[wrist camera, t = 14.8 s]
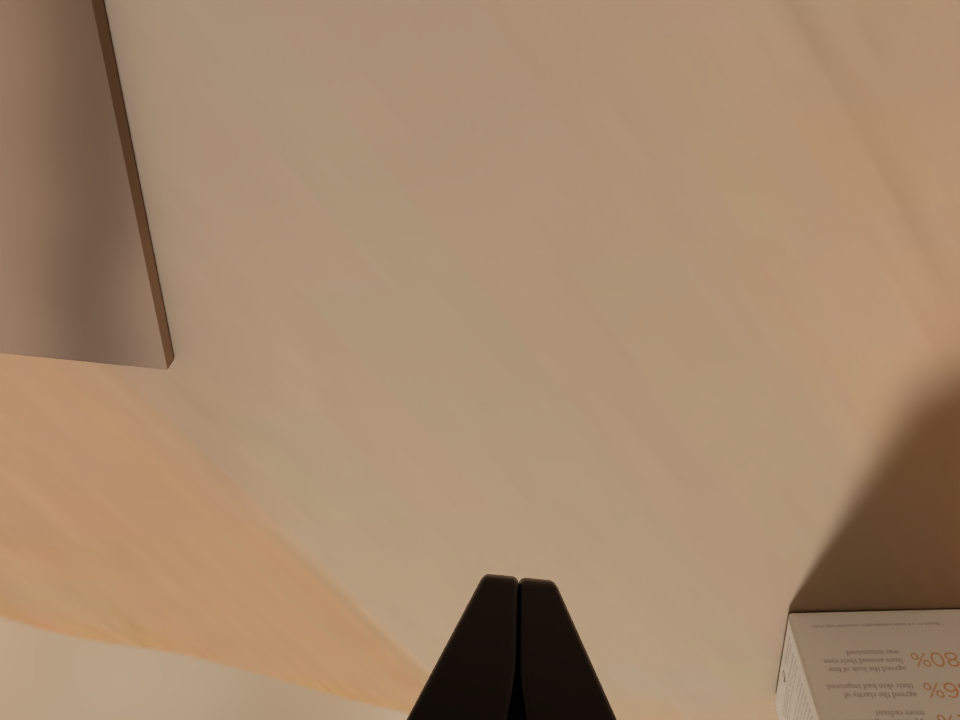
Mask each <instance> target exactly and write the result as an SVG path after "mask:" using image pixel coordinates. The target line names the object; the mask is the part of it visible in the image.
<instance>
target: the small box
mask: <svg viewBox="0 0 960 720" xmlns="http://www.w3.org/2000/svg"><path fill="white" fill-rule="evenodd" d="M775 706H776V711H777V714H778V718H779V720H960V609H945V610H906V611H861V612H823V613H792V614H789V617H788V625H787V631H786V637H785V643H784V649H783V655H782V661H781V667H780V673H779V680H778V686H777V692H776V698H775Z"/></svg>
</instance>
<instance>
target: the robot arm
mask: <svg viewBox="0 0 960 720" xmlns="http://www.w3.org/2000/svg"><path fill="white" fill-rule="evenodd" d="M407 720H616V717H615V715H614V713H613V711H612V708H611V706H610V704H609V702H608V699H607V697H606V695H605V693H604V690H603V688H602V686H601V684H600V681H599V679H598V677H597V675H596V672H595V670H594V668H593V666H592V663H591V661H590V659H589V657H588V655H587V652H586V650H585V648H584V646H583V643H582V641H581V639H580V637H579V634H578V632H577V630H576V628H575V625H574V623H573V621H572V619H571V616H570V614H569V612H568V610H567V607H566V605H565V603H564V601H563V599H562V596H561V594H560V592H559V590H558V588H557V586H556V585H555V583H554V582H552V581H550V580H542V579H532V578H523V579H521V580H520V582H519V584H518V580H517V579H516V578H515V577H512V576H503V575H493V574H487V575H485V576H484V577H483V578H482V579H481V581H480V583H479V584H478V586H477V588H476V590H475V592H474V594H473V596H472V598H471V600H470V601H469V603H468V605H467V607H466V609H465V611H464V613H463V615H462V616H461V618H460V620H459V622H458V624H457V626H456V628H455V630H454V632H453V633H452V635H451V637H450V639H449V641H448V643H447V645H446V647H445V649H444V650H443V652H442V654H441V656H440V658H439V660H438V662H437V664H436V666H435V667H434V669H433V671H432V673H431V675H430V677H429V679H428V681H427V683H426V684H425V686H424V688H423V690H422V692H421V694H420V696H419V698H418V699H417V701H416V703H415V705H414V707H413V709H412V711H411V713H410V715H409V716H408V718H407Z"/></svg>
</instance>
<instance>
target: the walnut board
mask: <svg viewBox="0 0 960 720" xmlns="http://www.w3.org/2000/svg"><path fill="white" fill-rule="evenodd" d="M0 353H4V354H14V355H25V356H35V357H45V358H55V359H65V360H75V361H86V362H96V363H106V364H116V365H126V366H136V367H147V368H157V369H168V368H169V366H170V365H171V363H172V362H173V360H174V356H173V351H172V346H171V341H170V336H169V331H168V326H167V321H166V316H165V311H164V305H163V300H162V295H161V290H160V285H159V280H158V275H157V270H156V265H155V260H154V255H153V250H152V245H151V240H150V235H149V230H148V225H147V219H146V214H145V209H144V204H143V199H142V194H141V189H140V184H139V179H138V174H137V169H136V164H135V159H134V154H133V149H132V144H131V139H130V133H129V128H128V123H127V118H126V113H125V108H124V103H123V98H122V93H121V88H120V83H119V78H118V73H117V68H116V63H115V58H114V53H113V47H112V42H111V37H110V32H109V27H108V22H107V17H106V12H105V7H104V2H103V0H0Z"/></svg>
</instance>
